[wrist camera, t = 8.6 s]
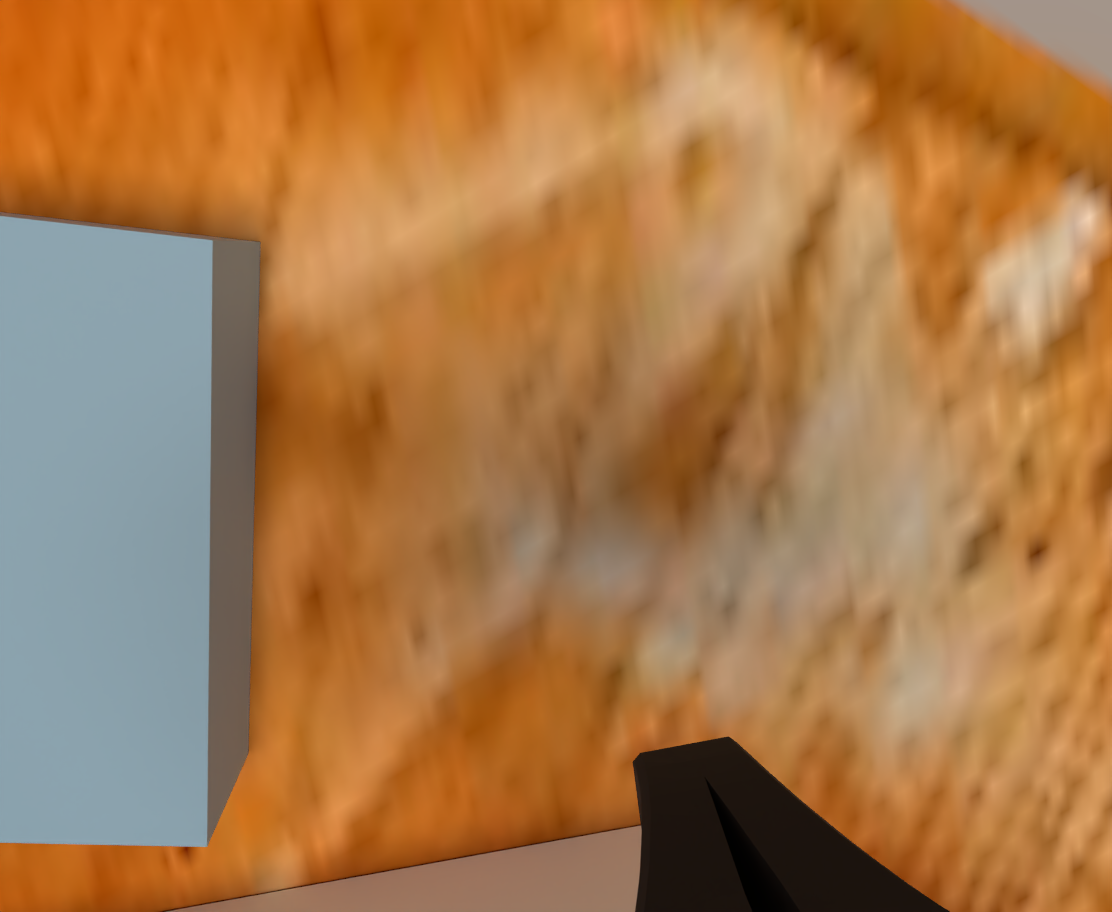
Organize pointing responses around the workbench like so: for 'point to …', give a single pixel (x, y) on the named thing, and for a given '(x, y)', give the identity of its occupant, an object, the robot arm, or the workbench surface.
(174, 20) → the workbench surface
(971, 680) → the workbench surface
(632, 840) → the shelf wall
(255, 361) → the book box
